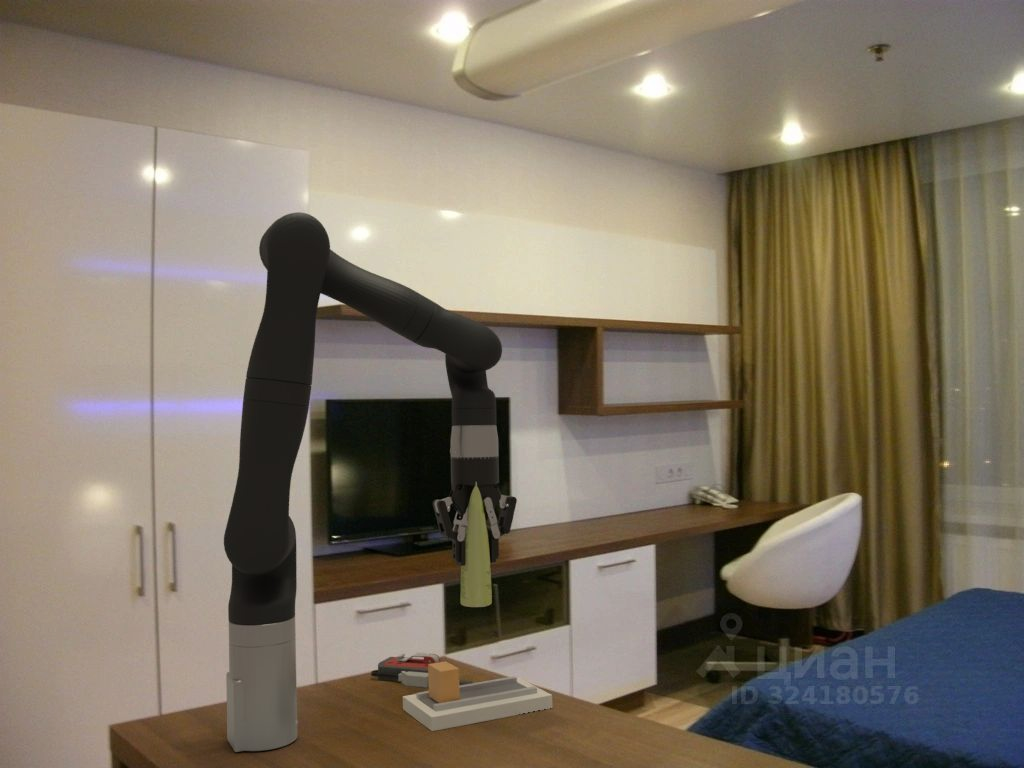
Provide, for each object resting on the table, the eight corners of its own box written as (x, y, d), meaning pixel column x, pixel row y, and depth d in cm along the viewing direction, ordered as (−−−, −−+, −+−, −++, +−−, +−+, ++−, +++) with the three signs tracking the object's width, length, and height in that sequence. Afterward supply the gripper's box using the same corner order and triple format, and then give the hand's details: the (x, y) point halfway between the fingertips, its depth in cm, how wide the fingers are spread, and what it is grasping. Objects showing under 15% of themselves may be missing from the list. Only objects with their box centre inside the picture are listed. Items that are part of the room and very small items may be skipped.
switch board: (432, 731, 133) (431, 711, 133) (402, 709, 143) (402, 691, 144) (552, 708, 142) (551, 689, 142) (516, 689, 153) (516, 671, 153)
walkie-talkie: (364, 685, 159) (470, 694, 152) (363, 659, 159) (469, 667, 152) (388, 671, 167) (490, 679, 160) (388, 647, 167) (490, 654, 160)
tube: (501, 604, 143) (499, 479, 144) (478, 610, 140) (475, 481, 140) (476, 600, 147) (474, 478, 148) (453, 605, 144) (450, 480, 144)
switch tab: (441, 704, 137) (440, 671, 138) (428, 696, 142) (428, 664, 142) (459, 701, 139) (458, 668, 139) (446, 693, 143) (446, 661, 143)
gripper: (441, 456, 138) (443, 571, 137) (526, 453, 144) (527, 563, 144) (423, 455, 145) (424, 564, 144) (504, 452, 151) (506, 557, 150)
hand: (476, 563), depth 144 cm, fingers closed on tube, 4 cm apart
